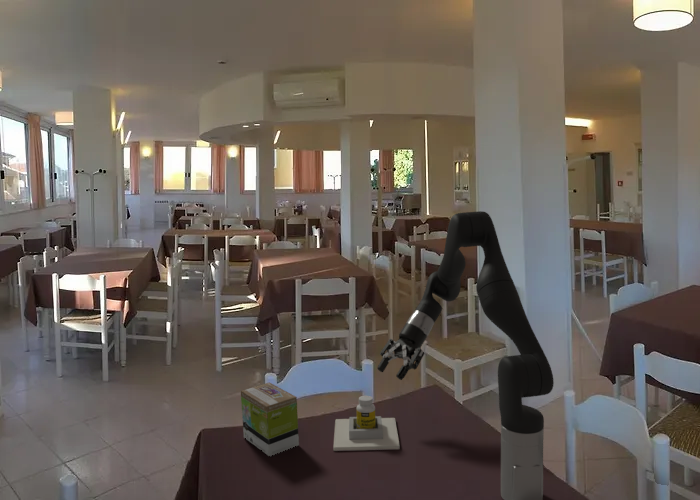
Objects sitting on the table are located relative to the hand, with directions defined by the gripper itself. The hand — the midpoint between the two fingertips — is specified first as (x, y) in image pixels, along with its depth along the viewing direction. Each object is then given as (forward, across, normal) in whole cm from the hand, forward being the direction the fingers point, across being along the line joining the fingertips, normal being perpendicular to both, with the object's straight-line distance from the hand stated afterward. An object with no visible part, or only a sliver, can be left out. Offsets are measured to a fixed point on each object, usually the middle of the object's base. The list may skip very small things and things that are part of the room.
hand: (389, 374), depth 165 cm
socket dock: (+18, 0, +5) cm, 18 cm away
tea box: (+34, -14, -12) cm, 39 cm away
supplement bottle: (+17, 0, +4) cm, 17 cm away
